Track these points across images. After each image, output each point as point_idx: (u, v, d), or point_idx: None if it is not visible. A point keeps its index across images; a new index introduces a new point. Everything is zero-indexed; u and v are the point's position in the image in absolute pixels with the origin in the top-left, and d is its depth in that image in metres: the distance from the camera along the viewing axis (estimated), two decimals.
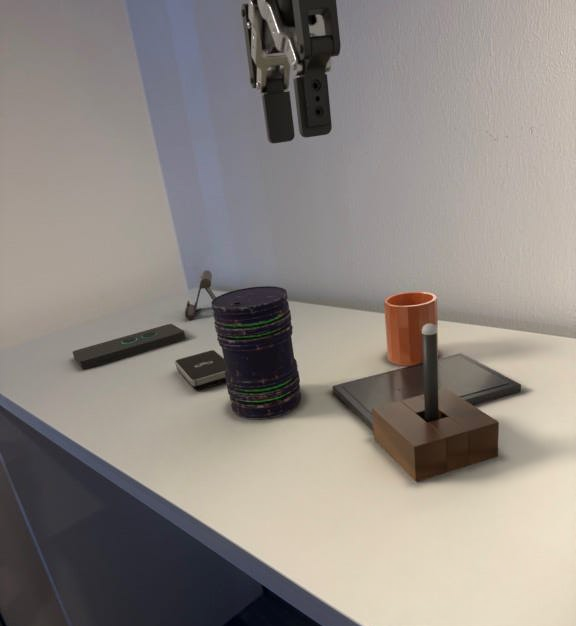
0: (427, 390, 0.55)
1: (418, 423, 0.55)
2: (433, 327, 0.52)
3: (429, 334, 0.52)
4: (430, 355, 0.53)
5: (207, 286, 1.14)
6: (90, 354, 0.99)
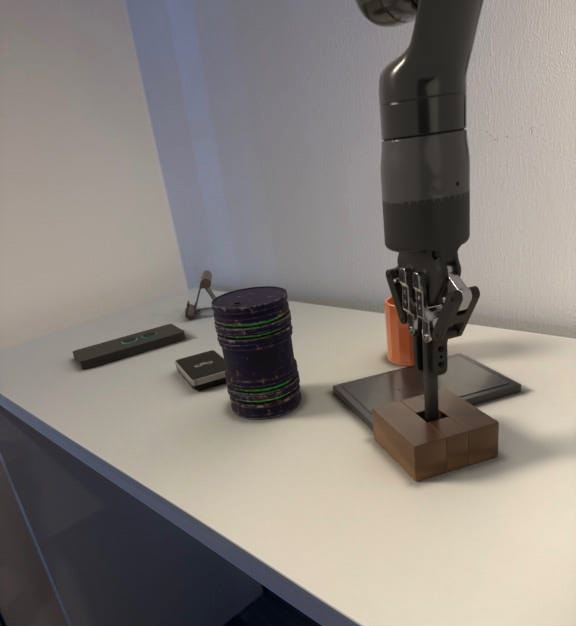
0: (427, 390, 0.55)
1: (418, 423, 0.55)
2: (433, 327, 0.52)
3: None
4: None
5: (207, 286, 1.14)
6: (90, 354, 0.99)
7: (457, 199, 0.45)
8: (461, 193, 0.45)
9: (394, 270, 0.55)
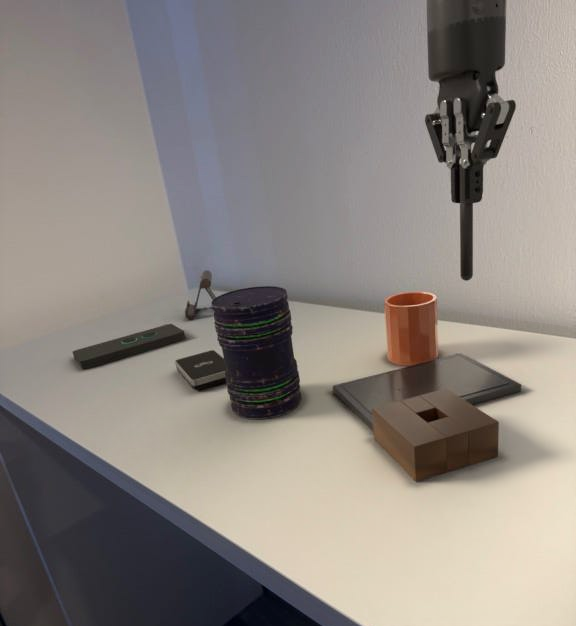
0: (463, 220, 0.61)
1: (418, 423, 0.55)
2: None
3: None
4: None
5: (207, 286, 1.14)
6: (90, 354, 0.99)
7: (496, 20, 0.51)
8: (499, 15, 0.51)
9: (433, 114, 0.62)
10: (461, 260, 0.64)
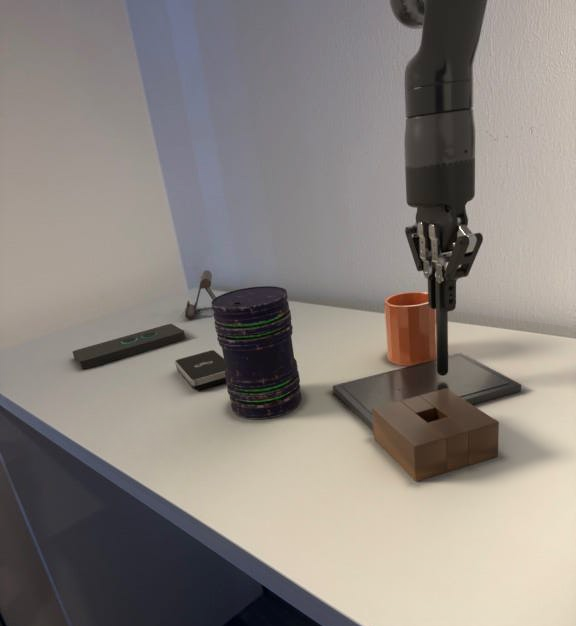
0: (439, 325, 0.67)
1: (418, 423, 0.55)
2: None
3: None
4: None
5: (207, 286, 1.14)
6: (90, 354, 0.99)
7: (465, 164, 0.57)
8: (468, 159, 0.57)
9: (412, 227, 0.68)
10: (437, 358, 0.69)
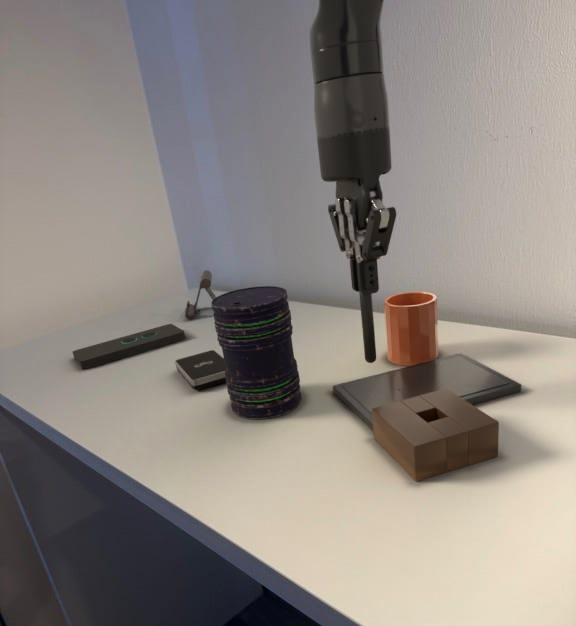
0: (363, 308, 0.63)
1: (418, 423, 0.55)
2: None
3: None
4: None
5: (207, 286, 1.14)
6: (90, 354, 0.99)
7: (376, 132, 0.53)
8: (379, 127, 0.53)
9: (334, 205, 0.64)
10: (364, 344, 0.65)
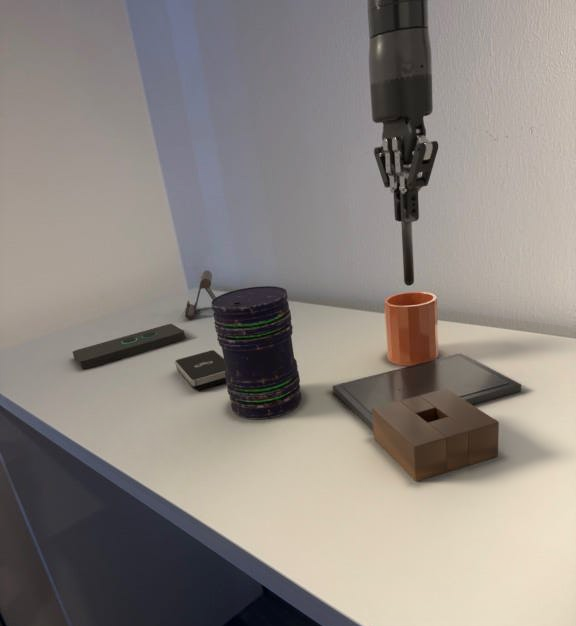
0: (404, 235, 0.74)
1: (418, 423, 0.55)
2: None
3: None
4: None
5: (207, 286, 1.14)
6: (90, 354, 0.99)
7: (422, 78, 0.64)
8: (425, 74, 0.64)
9: (380, 147, 0.75)
10: (404, 268, 0.76)
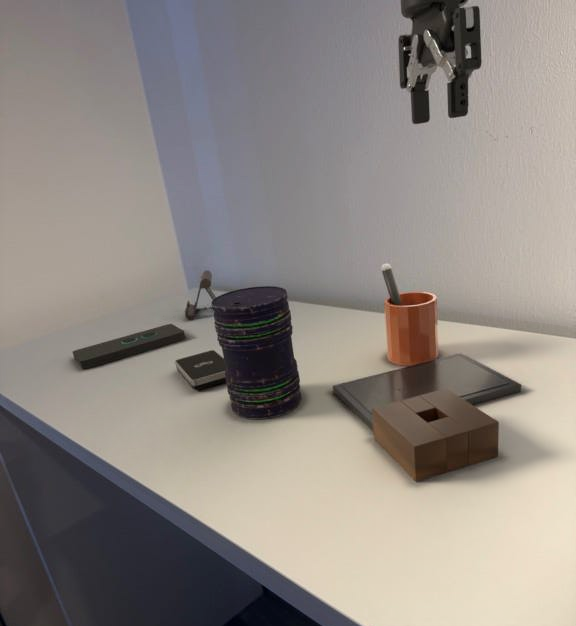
0: None
1: (418, 423, 0.55)
2: (387, 264, 0.78)
3: (385, 269, 0.78)
4: (390, 284, 0.79)
5: (207, 286, 1.14)
6: (90, 354, 0.99)
7: None
8: None
9: (406, 37, 0.68)
10: None
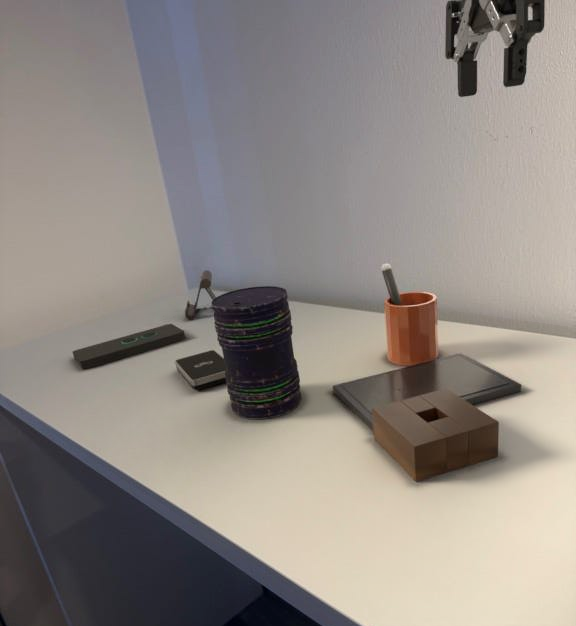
0: None
1: (418, 423, 0.55)
2: (387, 264, 0.78)
3: (385, 269, 0.78)
4: (390, 284, 0.79)
5: (207, 286, 1.14)
6: (90, 354, 0.99)
7: None
8: None
9: (455, 3, 0.63)
10: None
